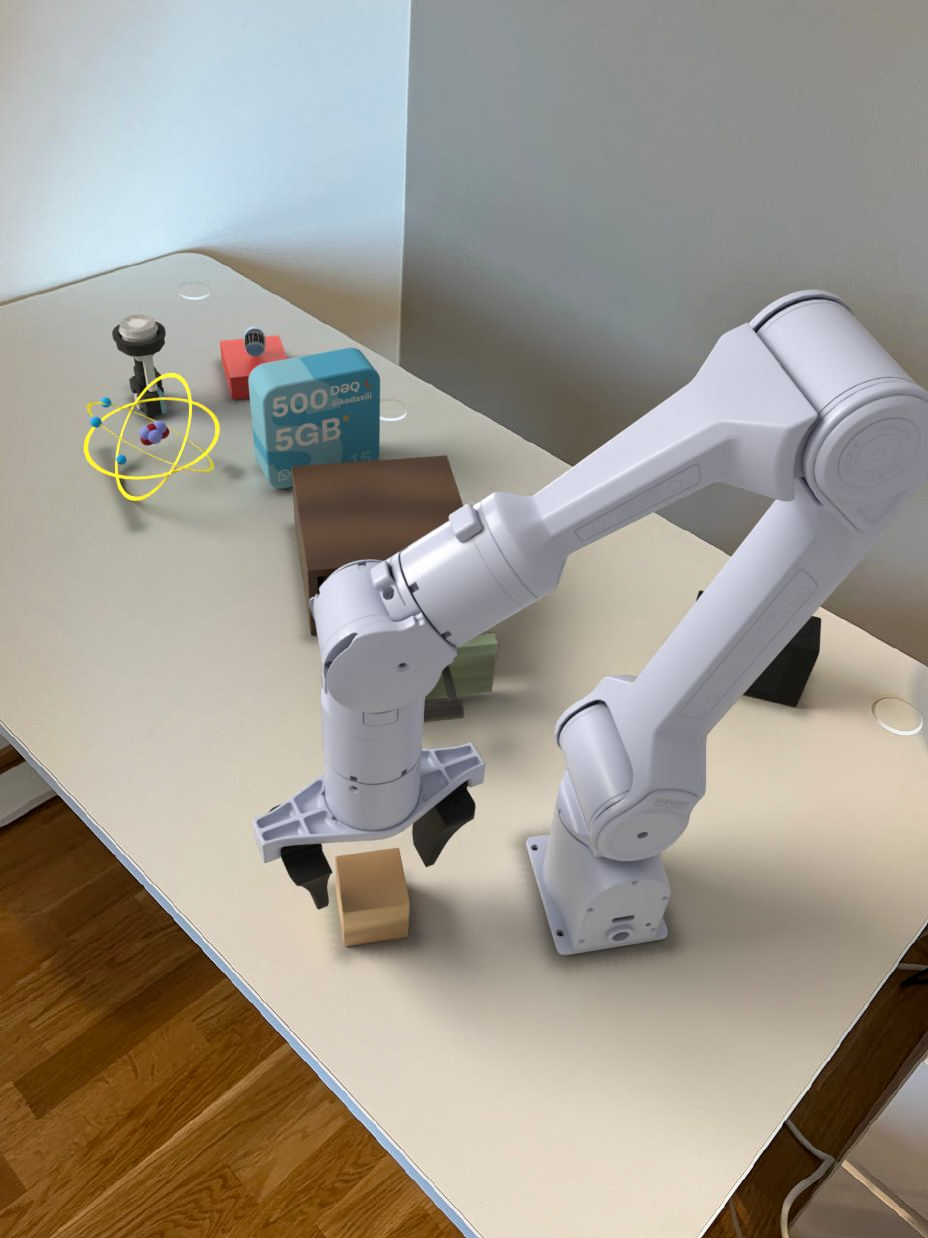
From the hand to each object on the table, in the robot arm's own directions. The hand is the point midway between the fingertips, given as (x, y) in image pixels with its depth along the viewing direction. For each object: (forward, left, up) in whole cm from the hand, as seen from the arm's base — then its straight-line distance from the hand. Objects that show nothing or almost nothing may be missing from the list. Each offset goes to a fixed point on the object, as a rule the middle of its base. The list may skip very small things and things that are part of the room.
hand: (371, 874), depth 71 cm
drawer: (+22, -6, -4) cm, 23 cm away
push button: (+66, +15, -5) cm, 68 cm away
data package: (+52, -2, -5) cm, 52 cm away
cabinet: (+35, -6, -5) cm, 36 cm away
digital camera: (+18, -35, -5) cm, 40 cm away
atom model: (+52, +14, -5) cm, 54 cm away
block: (0, 0, -5) cm, 5 cm away
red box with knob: (+70, +3, -5) cm, 70 cm away
